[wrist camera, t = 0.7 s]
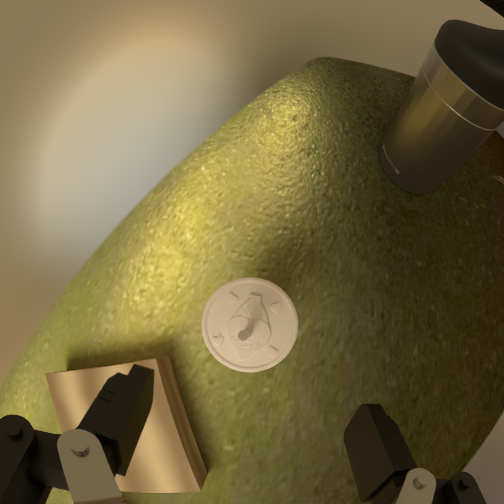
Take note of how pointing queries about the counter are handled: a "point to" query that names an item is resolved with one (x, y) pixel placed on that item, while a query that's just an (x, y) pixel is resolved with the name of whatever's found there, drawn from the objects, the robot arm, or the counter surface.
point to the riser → (154, 432)
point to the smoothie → (249, 324)
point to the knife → (498, 178)
